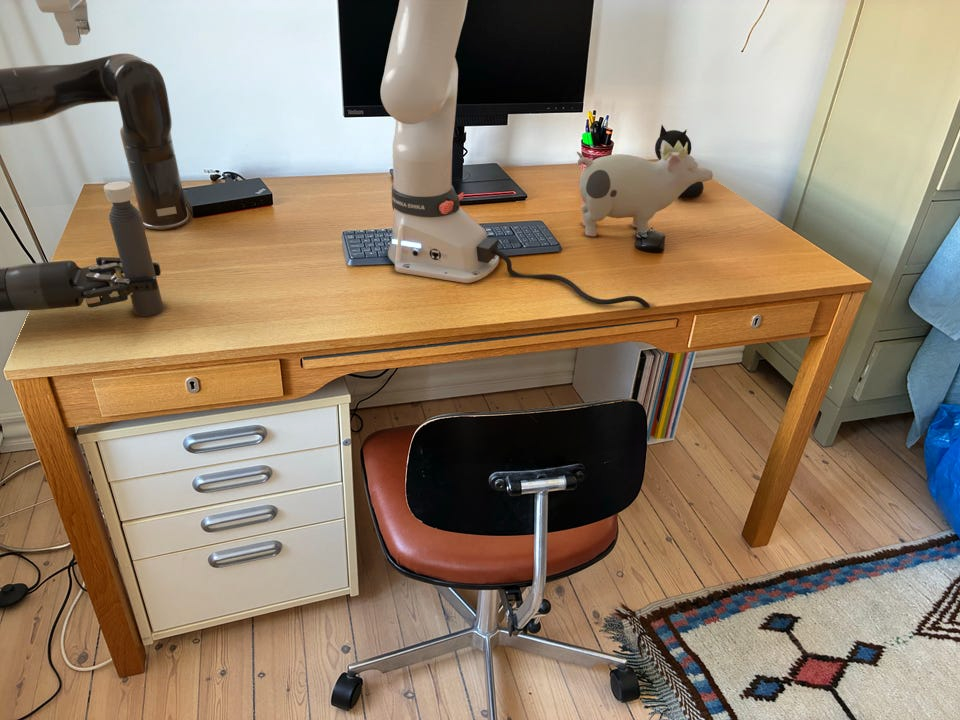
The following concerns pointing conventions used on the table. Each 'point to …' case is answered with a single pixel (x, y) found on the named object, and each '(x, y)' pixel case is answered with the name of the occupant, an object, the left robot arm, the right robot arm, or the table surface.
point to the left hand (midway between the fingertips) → (157, 275)
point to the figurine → (635, 185)
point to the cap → (118, 191)
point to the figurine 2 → (672, 139)
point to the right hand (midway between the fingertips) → (79, 38)
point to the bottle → (135, 255)
